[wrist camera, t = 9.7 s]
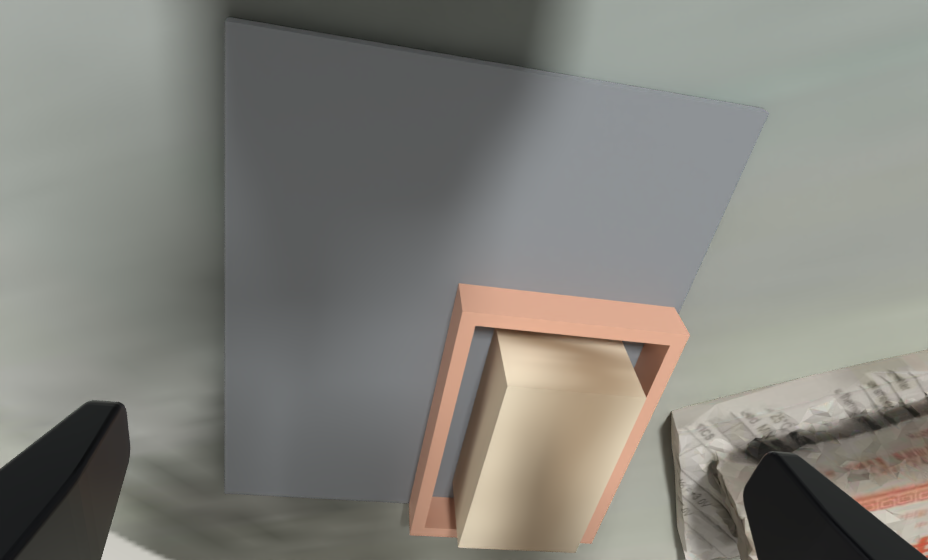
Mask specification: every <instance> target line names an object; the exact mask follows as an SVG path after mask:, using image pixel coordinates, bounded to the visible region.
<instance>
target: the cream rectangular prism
mask: <svg viewBox="0 0 928 560" xmlns="http://www.w3.org/2000/svg"><path fill="white" fill-rule="evenodd" d="M645 400H646V396H645V394H644V391H643V389H642V387H641V384H640V382H639V380H638V377H637V375H636V373H635V370H634V368H633V366H632V363H631V361H630V359H629V356H628V354H627V352H626V349H625V347H624V345H623V342H622V341H621V340H611V339H601V338H591V337H582V336H572V335H562V334H552V333H542V332H532V331H522V330H513V329H503V328H495V329H494V332H493V336H492V339H491V343H490V347H489V350H488V354H487V358H486V361H485V365H484V369H483V372H482V376H481V380H480V383H479V387H478V390H477V394H476V398H475V401H474V405H473V409H472V412H471V416H470V420H469V423H468V427H467V430H466V434H465V438H464V441H463V445H462V449H461V452H460V456H459V460H458V463H457V467H456V471H455V474H454V478H453V481H452V482H453V493H454V505H455V516H456V528H457V540H458V548H478V549H501V550H523V551H546V552H568V553H576V550H577V548H578V546H579V544H580V542H581V540H582V537H583V535H584V533H585V531H586V529H587V527H588V524H589V522H590V520H591V518H592V516H593V513H594V511H595V509H596V507H597V505H598V503H599V500H600V498H601V496H602V494H603V492H604V490H605V487H606V485H607V483H608V481H609V479H610V477H611V474H612V472H613V470H614V468H615V466H616V463H617V461H618V459H619V457H620V455H621V453H622V450H623V448H624V446H625V444H626V442H627V440H628V437H629V435H630V433H631V431H632V429H633V427H634V424H635V422H636V420H637V418H638V416H639V413H640V411H641V409H642V407H643V405H644V403H645Z"/></svg>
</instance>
